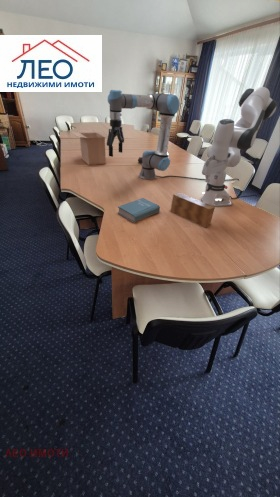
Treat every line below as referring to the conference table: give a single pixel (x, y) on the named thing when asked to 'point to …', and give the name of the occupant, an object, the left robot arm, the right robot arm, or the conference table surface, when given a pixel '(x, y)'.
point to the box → (92, 146)
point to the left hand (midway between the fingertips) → (115, 154)
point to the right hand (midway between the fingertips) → (211, 180)
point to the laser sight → (140, 160)
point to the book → (138, 209)
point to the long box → (192, 209)
